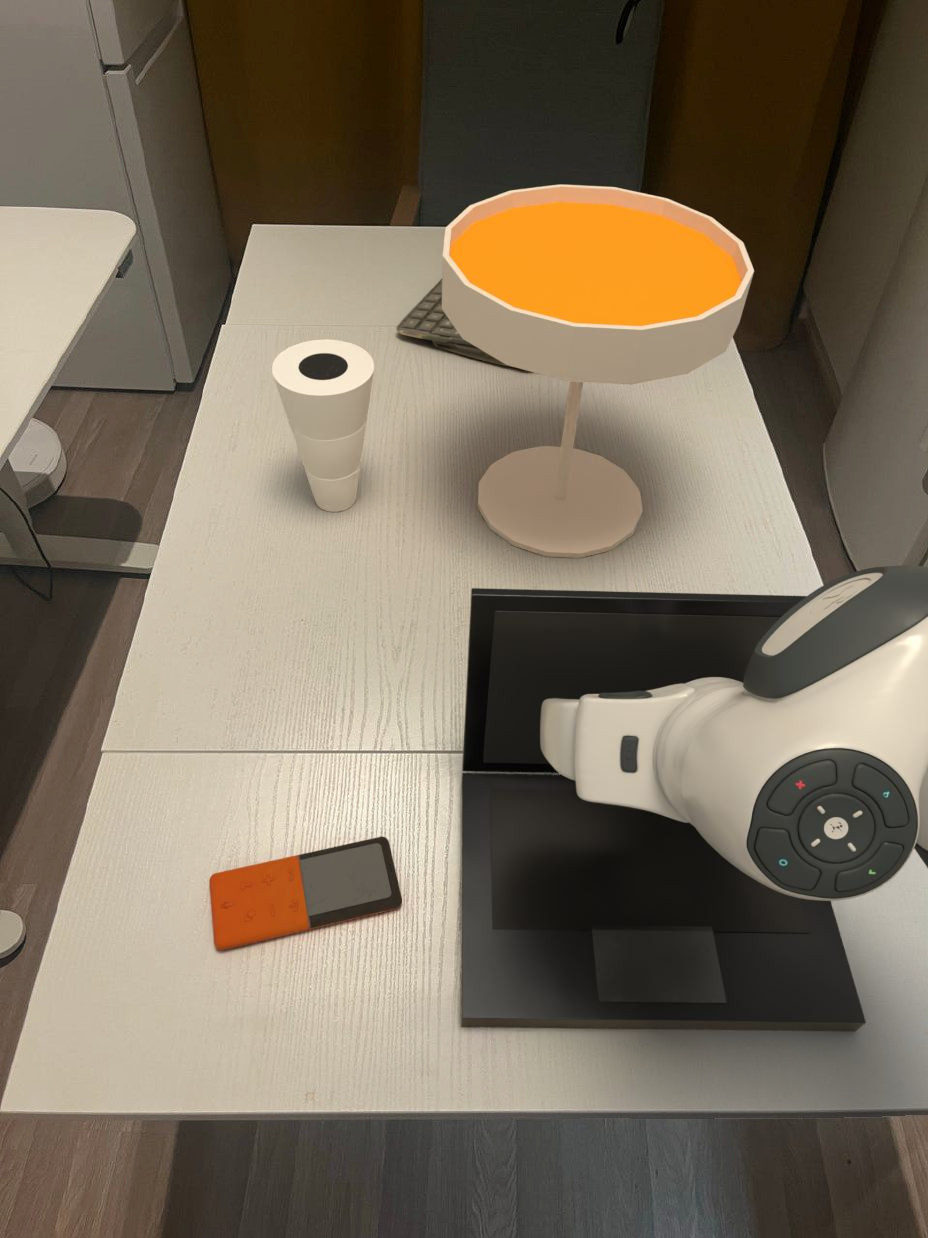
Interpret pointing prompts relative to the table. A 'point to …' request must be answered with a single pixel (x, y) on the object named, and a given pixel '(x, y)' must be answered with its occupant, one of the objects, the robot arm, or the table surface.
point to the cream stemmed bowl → (586, 333)
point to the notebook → (630, 923)
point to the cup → (327, 413)
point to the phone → (303, 892)
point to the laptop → (439, 327)
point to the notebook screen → (592, 656)
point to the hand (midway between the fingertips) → (664, 714)
